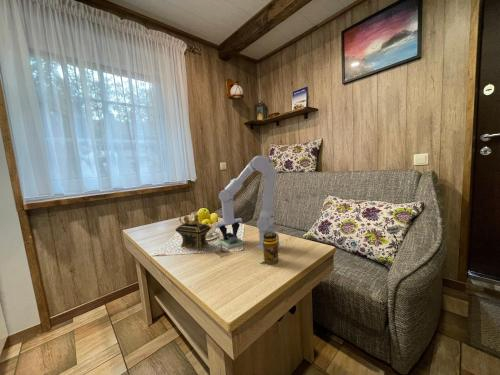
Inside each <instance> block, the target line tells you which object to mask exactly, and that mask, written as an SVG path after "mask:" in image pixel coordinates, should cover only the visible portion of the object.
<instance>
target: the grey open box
mask: <svg viewBox="0 0 500 375" xmlns="http://www.w3.org/2000/svg"><path fill="white" fill-rule="evenodd" d="M222 238H223V242H225V243H226V244H228V245H232V244H235V243H238V238H239V237H238V236H236V235H234V234H233V232H227V240H224V237H223V236H222Z"/></svg>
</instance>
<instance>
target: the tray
mask: <svg viewBox="0 0 500 375" xmlns="http://www.w3.org/2000/svg"><path fill="white" fill-rule="evenodd" d="M237 238H238V243H235V244H232V245H228V244H226V243H225V242H223V237H221V238H218V239H216V241H217V243H218V244H220V243H221V244H222V247H223V248H225V249H227V250H229V249H232V248H236V247H238V246H242V245H245V244H246V241H244V240H243V239H241V238H239V237H237Z"/></svg>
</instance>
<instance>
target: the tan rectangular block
mask: <svg viewBox="0 0 500 375" xmlns="http://www.w3.org/2000/svg"><path fill="white" fill-rule="evenodd" d="M218 246H219V249H216V250H213V253H214V254H216V255H217V256H219V257H220V259H221V258H224V257H228V256H231V255H233V252H231V251H229V249H227V248H226V247H224V246H223V245H222V244H221V243H218Z"/></svg>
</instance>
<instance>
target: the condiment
mask: <svg viewBox="0 0 500 375" xmlns="http://www.w3.org/2000/svg"><path fill="white" fill-rule="evenodd" d="M263 236H264V240H263V249H262V250H263V261H261V262H260V263H259V265H266V266H268V267H269V266H270V267H277V266H278V265H279V264H280V263H281V261H282V260H283V258H280V257H279V249H278V241H277V238H276V234H275V233H273V232H268V233H265V234H264V235H263Z"/></svg>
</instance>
